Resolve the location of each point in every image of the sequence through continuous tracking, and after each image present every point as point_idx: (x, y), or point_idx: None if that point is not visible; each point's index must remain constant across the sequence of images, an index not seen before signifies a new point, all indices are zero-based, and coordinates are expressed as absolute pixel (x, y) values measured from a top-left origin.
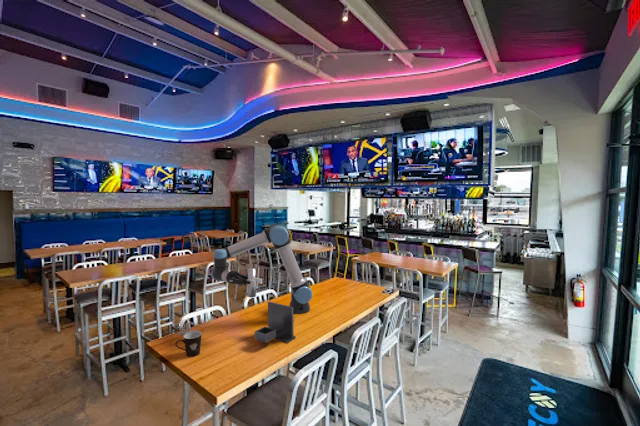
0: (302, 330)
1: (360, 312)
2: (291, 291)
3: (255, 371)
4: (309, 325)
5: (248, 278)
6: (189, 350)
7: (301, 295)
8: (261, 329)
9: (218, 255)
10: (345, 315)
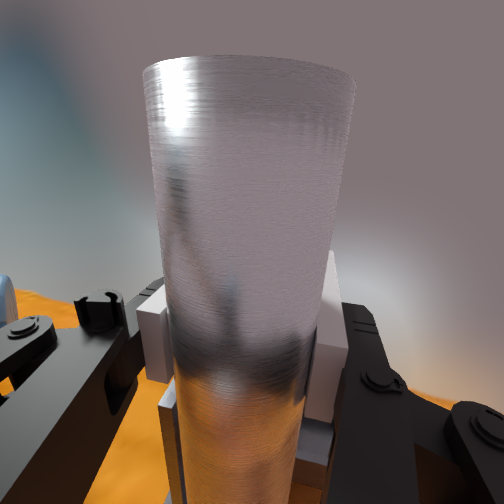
0: (150, 384)
1: (29, 293)
2: None
3: (441, 405)
4: None
5: (318, 309)
6: None
7: (11, 322)
8: (307, 454)
9: None
10: (39, 314)
